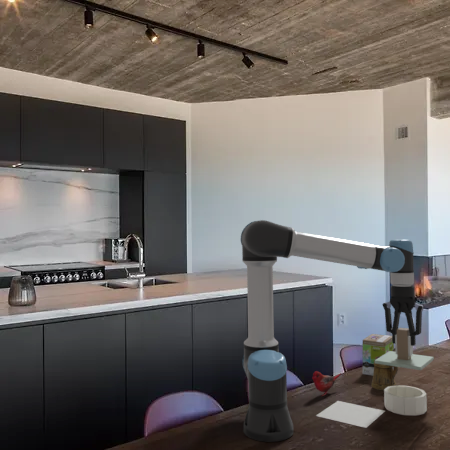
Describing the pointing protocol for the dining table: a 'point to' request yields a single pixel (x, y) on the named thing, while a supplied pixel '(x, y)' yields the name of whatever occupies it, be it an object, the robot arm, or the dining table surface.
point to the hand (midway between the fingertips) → (404, 354)
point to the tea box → (375, 350)
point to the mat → (351, 414)
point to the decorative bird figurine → (323, 381)
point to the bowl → (405, 400)
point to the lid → (404, 354)
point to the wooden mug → (383, 375)
